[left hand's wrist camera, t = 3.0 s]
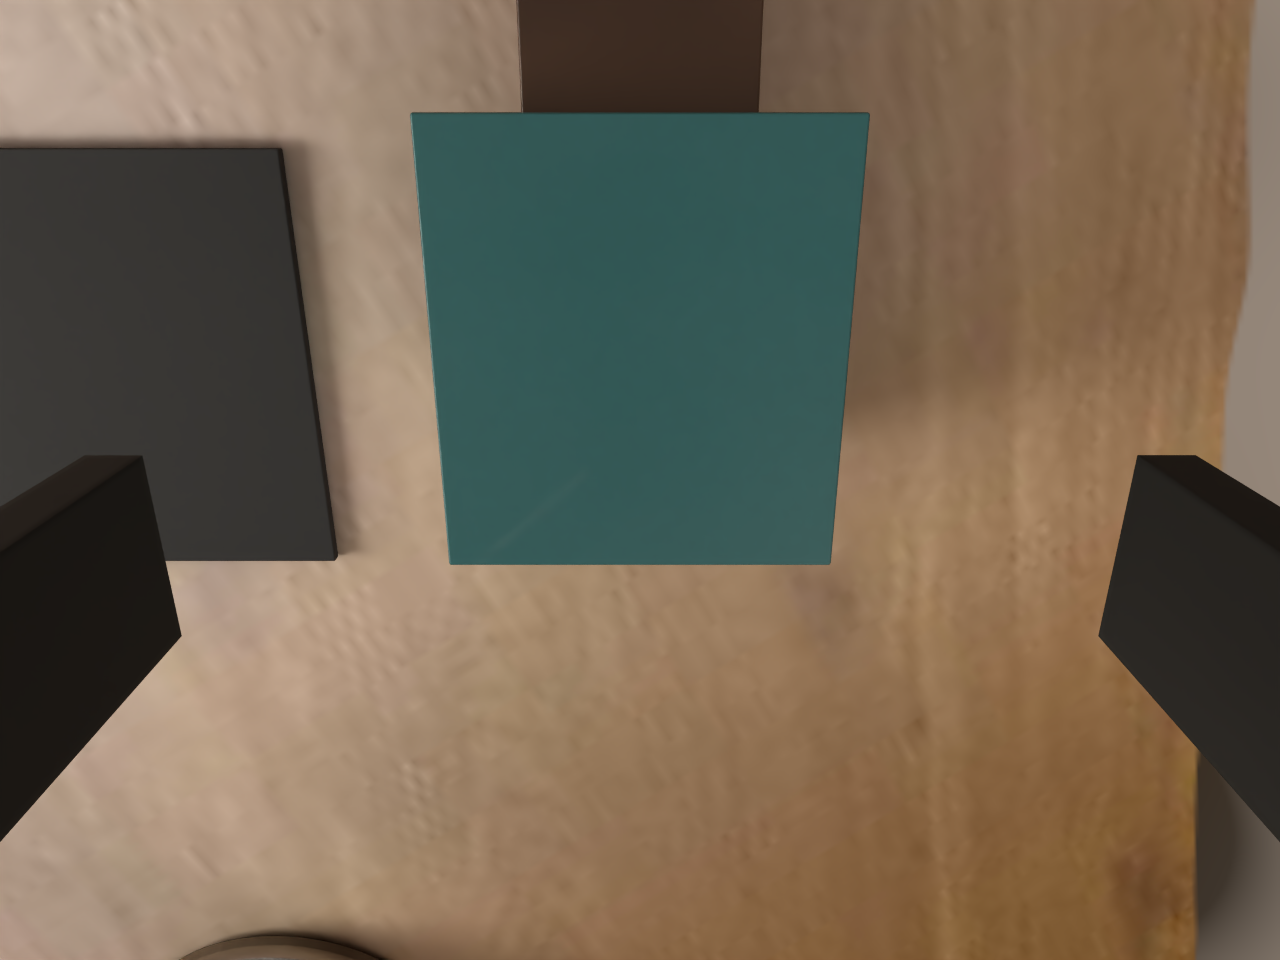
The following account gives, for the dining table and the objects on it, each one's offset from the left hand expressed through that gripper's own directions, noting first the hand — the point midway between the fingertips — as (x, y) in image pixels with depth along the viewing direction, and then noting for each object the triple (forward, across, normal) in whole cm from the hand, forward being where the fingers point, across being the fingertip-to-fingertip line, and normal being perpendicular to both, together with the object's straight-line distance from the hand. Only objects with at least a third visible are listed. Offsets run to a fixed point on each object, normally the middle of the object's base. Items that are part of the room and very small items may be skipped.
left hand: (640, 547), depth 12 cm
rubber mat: (+19, +18, +2) cm, 26 cm away
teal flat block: (+15, 0, 0) cm, 15 cm away
